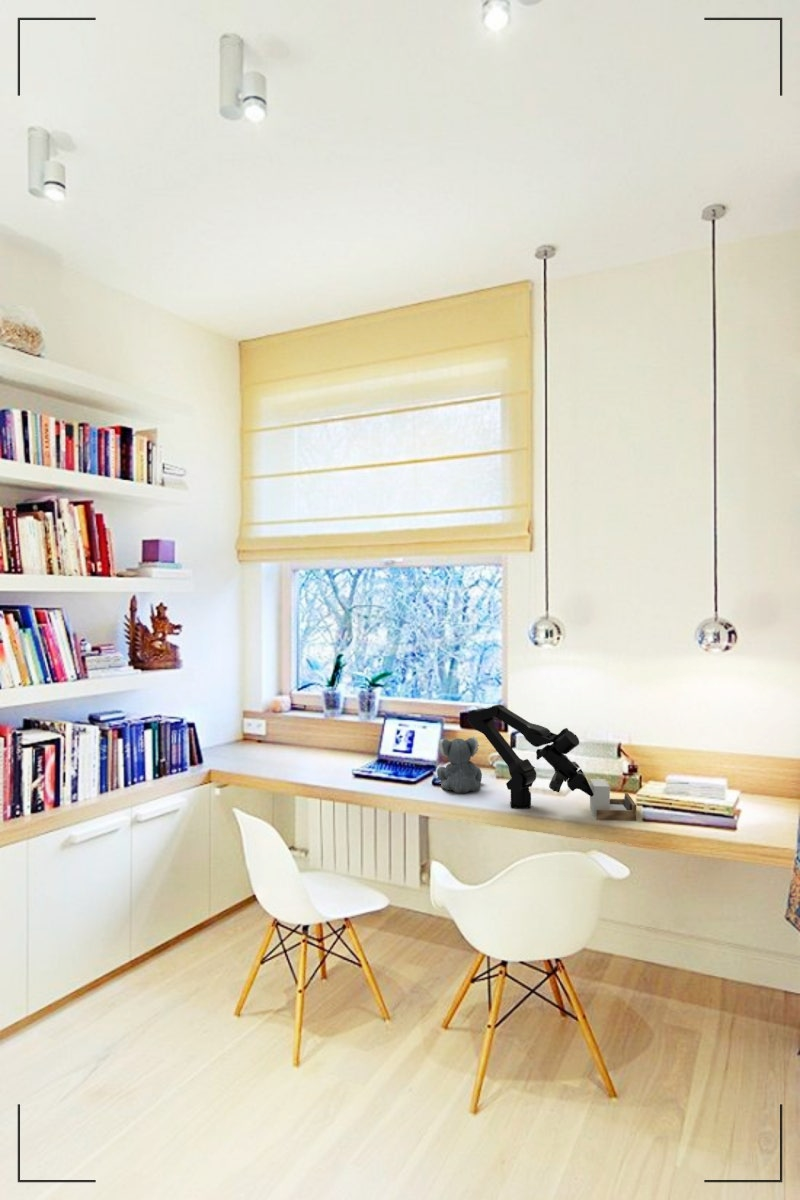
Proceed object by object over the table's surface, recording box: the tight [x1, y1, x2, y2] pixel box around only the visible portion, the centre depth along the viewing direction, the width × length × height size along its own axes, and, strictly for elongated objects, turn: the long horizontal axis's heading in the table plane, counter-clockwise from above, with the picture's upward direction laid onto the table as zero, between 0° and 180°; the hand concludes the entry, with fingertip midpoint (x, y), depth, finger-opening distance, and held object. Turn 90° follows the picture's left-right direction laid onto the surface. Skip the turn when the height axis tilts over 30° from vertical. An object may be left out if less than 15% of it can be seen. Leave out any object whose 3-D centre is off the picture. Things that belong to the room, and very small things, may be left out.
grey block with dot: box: [589, 778, 626, 817], centre depth 254 cm, size 11×10×10 cm
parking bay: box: [596, 792, 637, 821], centre depth 253 cm, size 12×14×5 cm
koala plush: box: [436, 736, 483, 794], centre depth 287 cm, size 17×18×20 cm
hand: (591, 793), depth 253 cm, fingers open, 4 cm apart
